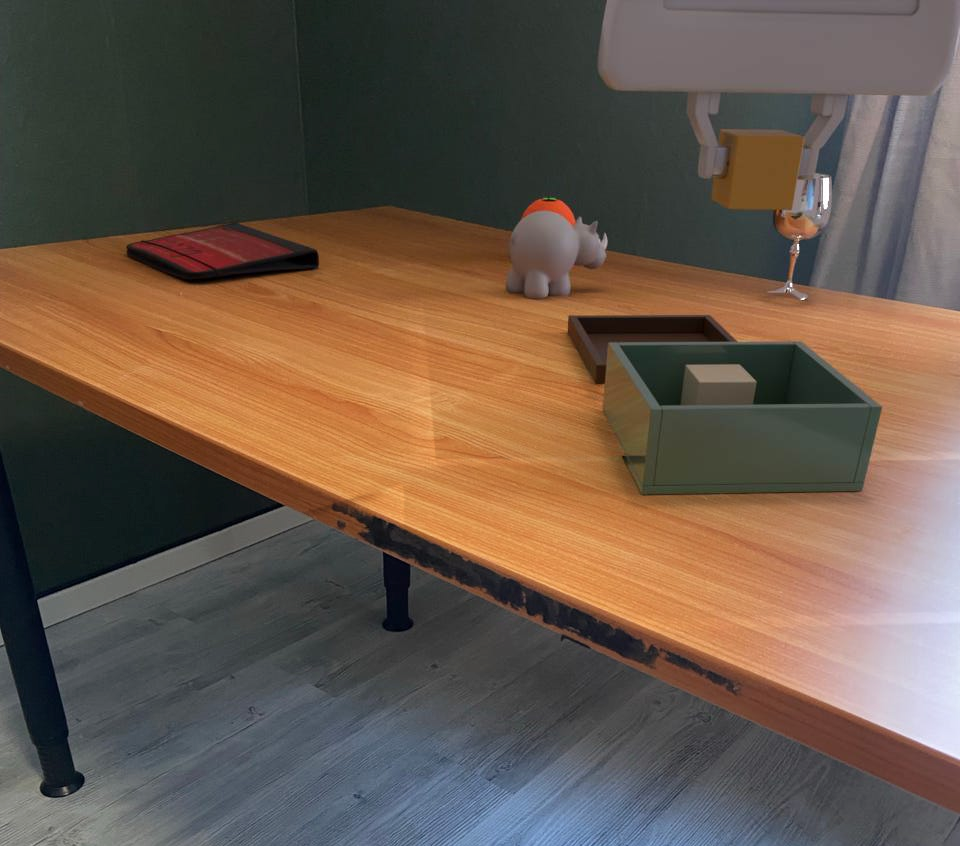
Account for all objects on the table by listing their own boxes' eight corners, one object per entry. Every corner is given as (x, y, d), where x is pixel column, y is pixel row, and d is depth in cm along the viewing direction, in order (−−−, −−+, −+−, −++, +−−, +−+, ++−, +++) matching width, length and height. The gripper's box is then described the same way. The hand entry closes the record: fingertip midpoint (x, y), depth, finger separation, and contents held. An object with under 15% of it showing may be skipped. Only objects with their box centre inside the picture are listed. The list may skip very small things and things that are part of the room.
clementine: (518, 250, 127) (520, 190, 123) (572, 251, 127) (576, 191, 123) (518, 263, 121) (520, 200, 117) (575, 265, 120) (579, 201, 117)
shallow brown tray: (707, 337, 94) (710, 314, 93) (757, 389, 81) (761, 363, 80) (567, 338, 93) (568, 315, 92) (594, 390, 80) (596, 364, 79)
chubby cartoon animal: (623, 295, 108) (631, 211, 103) (529, 307, 103) (533, 219, 98) (586, 281, 113) (591, 201, 108) (495, 292, 108) (496, 208, 103)
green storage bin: (787, 414, 76) (801, 341, 73) (862, 491, 64) (882, 406, 61) (601, 416, 75) (607, 342, 72) (641, 494, 63) (651, 409, 60)
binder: (237, 220, 129) (319, 247, 115) (240, 239, 131) (321, 268, 117) (118, 238, 121) (190, 270, 107) (122, 258, 123) (194, 292, 109)
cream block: (731, 417, 73) (740, 363, 71) (747, 437, 70) (757, 381, 68) (678, 418, 73) (685, 364, 71) (692, 437, 70) (699, 381, 68)
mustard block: (772, 199, 63) (783, 130, 61) (792, 210, 60) (805, 136, 58) (710, 199, 63) (719, 129, 61) (727, 209, 60) (738, 135, 58)
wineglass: (781, 286, 112) (800, 170, 106) (824, 296, 108) (848, 176, 102) (749, 294, 109) (767, 174, 102) (793, 304, 105) (815, 181, 99)
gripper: (617, -115, 50) (595, 183, 58) (1007, -103, 51) (937, 187, 59) (597, -102, 56) (579, 169, 63) (951, -92, 57) (893, 173, 64)
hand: (755, 178), depth 61 cm, fingers closed on mustard block, 4 cm apart
